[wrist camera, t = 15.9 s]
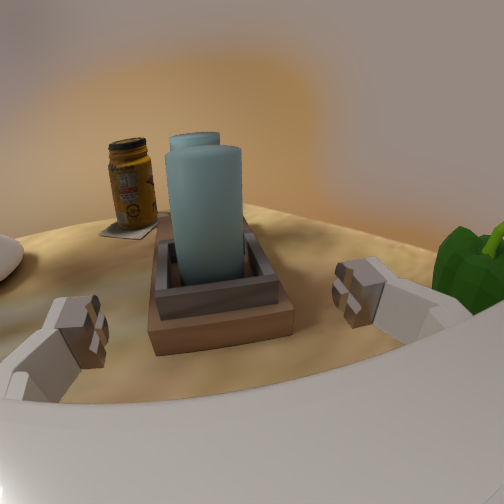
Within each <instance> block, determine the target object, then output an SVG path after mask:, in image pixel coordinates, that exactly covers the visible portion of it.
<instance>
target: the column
mask: <svg viewBox="0 0 504 504" xmlns="http://www.w3.org/2000/svg"><path fill="white" fill-rule="evenodd" d="M165 165H166V175H167V184H168V194H169V203H170V211H171V219H172V227H173V234H174V241H175V248H176V255H177V261H178V268H179V274H180V280H181V285H182V287H185V286H193V285H200V284H207V283H215V282H222V281H229V280H236V279H243V278H244V251H243V209H242V162H241V149H240V148H238V147H235V146H227V145H205V146H194V147H187V148H182V149H177V150H174V151H171V152H168V153H167V154H165Z"/></svg>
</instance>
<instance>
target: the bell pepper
mask: <svg viewBox="0 0 504 504" xmlns="http://www.w3.org/2000/svg"><path fill="white" fill-rule="evenodd" d="M503 236H504V222H502V223H501V224H499V225H498V226H497V227H495V228H494V230H493V232H492V234H491V235H482V236H480V237H478V236H476V235H475V234H474V233H473V232H472V231H471V230H469V229H467V228H464V227H461V226H459V227H458V228H457V229H455V230H454V231H453V232H452V233H451V234H450V235H449V236H448V237H447V238H446V239H445V240H444V242H443V243H442V244H441V245H440V247H439V251H438V254H437V258H436V262H435V265H434V272H433V281H432V289H433V290H435V291H438V292H440V293H443V294H445V295H448V296H451V297H453V298H456V299H457V300H458V301H459V302H460V303H461V304H462V305H463V306H464V307H465V308H466V309H467V310H468V311H469V312H470V313H471V314H472V315H473V316H474V315H476V314H478V313H480V312H482V311H484V310H486V309H488V308H489V307H491V306H493V305H495V304H497V303H499V302H501V301H502V300H504V240H503V239H502V237H503Z"/></svg>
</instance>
